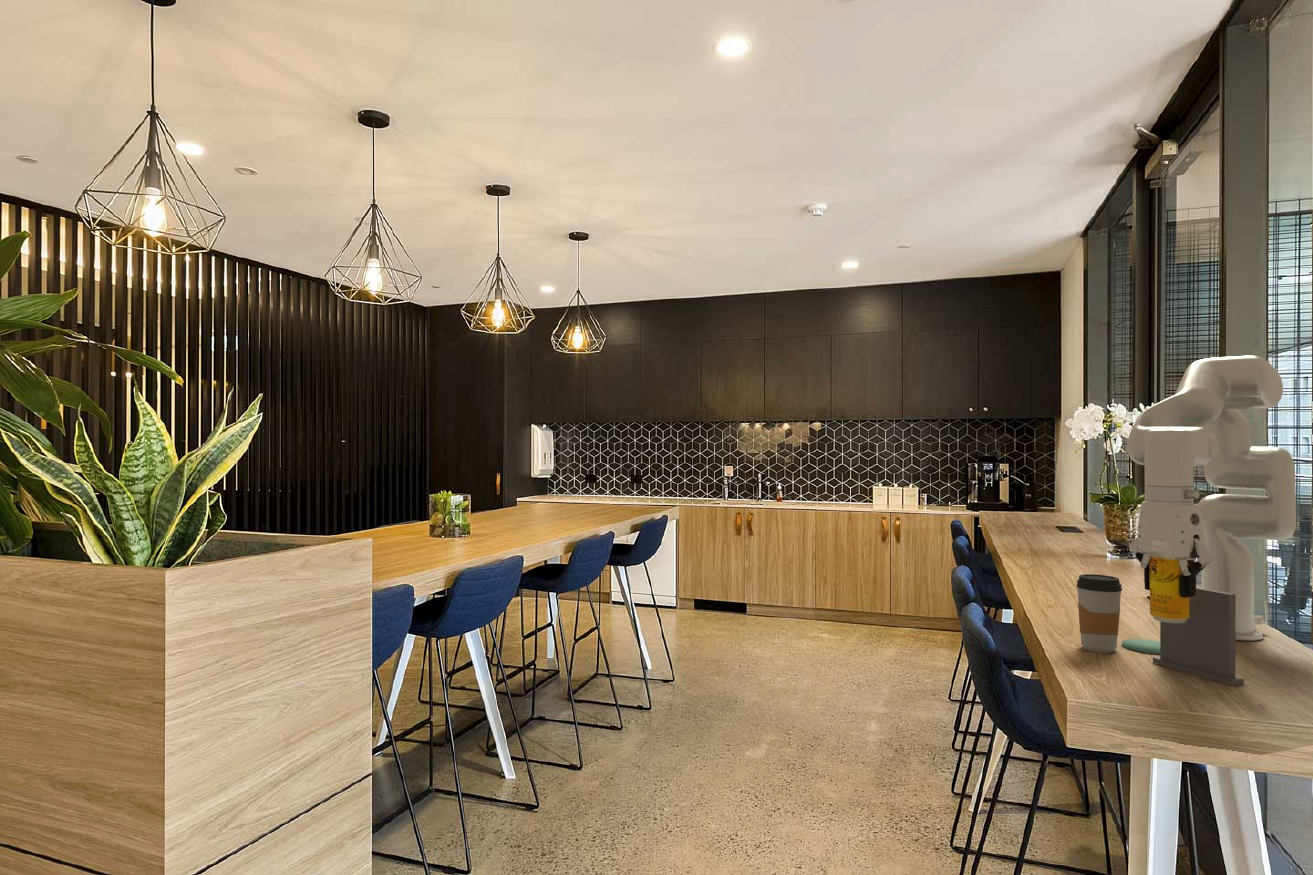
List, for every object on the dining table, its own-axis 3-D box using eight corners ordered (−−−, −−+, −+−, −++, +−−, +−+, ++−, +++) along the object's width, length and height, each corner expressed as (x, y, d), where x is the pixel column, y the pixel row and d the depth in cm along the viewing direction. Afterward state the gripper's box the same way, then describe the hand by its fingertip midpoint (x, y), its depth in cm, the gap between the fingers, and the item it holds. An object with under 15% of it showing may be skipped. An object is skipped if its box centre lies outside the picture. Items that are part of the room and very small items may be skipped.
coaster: (1144, 640, 168) (1144, 637, 168) (1190, 652, 158) (1190, 649, 158) (1110, 644, 164) (1110, 641, 164) (1154, 656, 155) (1154, 653, 155)
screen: (1163, 661, 152) (1164, 580, 152) (1243, 684, 137) (1244, 594, 137) (1152, 662, 151) (1153, 581, 151) (1232, 685, 136) (1232, 595, 136)
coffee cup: (1128, 655, 156) (1128, 581, 156) (1083, 653, 157) (1084, 579, 157) (1113, 644, 164) (1113, 574, 164) (1070, 642, 165) (1070, 573, 166)
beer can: (1142, 616, 144) (1141, 536, 144) (1172, 614, 145) (1172, 535, 145) (1166, 624, 138) (1165, 541, 138) (1197, 623, 139) (1197, 540, 138)
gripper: (1231, 498, 134) (1232, 600, 135) (1140, 490, 150) (1140, 582, 151) (1201, 500, 132) (1202, 604, 132) (1111, 492, 148) (1112, 585, 148)
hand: (1169, 591), depth 141 cm, fingers closed on beer can, 6 cm apart
